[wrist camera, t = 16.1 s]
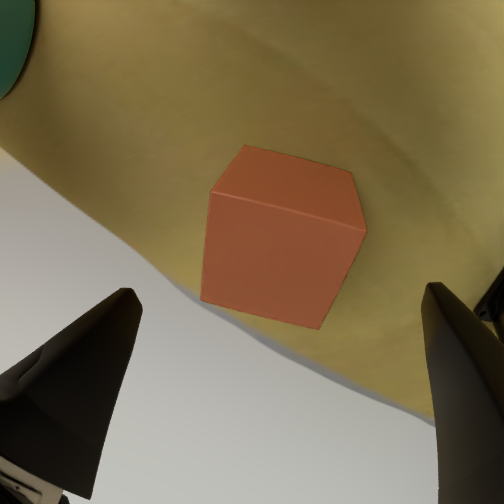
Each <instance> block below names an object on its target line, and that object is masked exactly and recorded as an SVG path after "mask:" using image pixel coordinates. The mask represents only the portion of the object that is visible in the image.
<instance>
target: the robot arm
mask: <svg viewBox="0 0 504 504" xmlns="http://www.w3.org/2000/svg"><path fill="white" fill-rule="evenodd" d="M142 312H143V309H142V304H141V303H140V301H139V299H138V297H137V295H136V293H135V292H134V290H133V289H132V288H120V289H119V290H117V291H116V292H114V293H113V294H111V295H110V296H109V297H107V298H106V299H104V300H103V301H101V302H100V303H99V304H97V305H96V306H95V307H93V308H92V309H90V310H89V311H88V312H86V313H85V314H83V315H82V316H81V317H79V318H78V319H77V320H75V321H74V322H73V323H71V324H70V325H69V326H67V327H66V328H64V329H63V330H62V331H60V332H59V333H58V334H56V335H55V336H54V337H52V338H51V339H50V340H48V341H47V342H46V343H45V344H43V345H42V346H40V347H39V348H38V349H36V350H35V351H34V352H32V353H31V354H30V355H28V356H27V357H25V358H24V359H23V360H21V361H20V362H18V363H17V364H16V365H14V366H12V367H11V368H10V369H8V370H7V371H5V372H4V373H2V374H1V375H0V504H70V503H69V500H68V498H67V496H65V495H64V494H62V493H63V490H66V491H68V492H71V493H73V494H76V495H78V496H80V497H83V498H85V499H88V500H90V499H91V496H92V492H93V487H94V483H95V478H96V474H97V470H98V465H99V462H100V457H101V454H102V453H101V452H102V449H103V446H104V442H105V438H106V435H107V431H108V427H109V424H110V420H111V417H112V414H113V410H114V407H115V404H116V400H117V397H118V394H119V391H120V387H121V384H122V381H123V378H124V375H125V372H126V369H127V366H128V363H129V360H130V357H131V354H132V351H133V347H134V344H135V340H136V335H137V331H138V328H139V323H140V320H141V316H142ZM474 313H475V314H474ZM474 313H473V312H472V311H471V310H470V309H469V308H468V307H467V306H466V305H465V304H464V303H463V302H462V301H461V300H460V299H459V298H458V297H457V296H456V295H454V294H453V293H452V292H451V291H450V290H449V289H448V288H447V287H446V286H445V285H444V284H443V283H441V282H429V283H428V284H427V285H426V288H425V292H424V296H423V300H422V304H421V314H422V323H423V332H424V342H425V353H426V362H427V368H428V374H429V380H430V386H431V393H432V400H433V408H434V416H435V426H436V437H437V452H438V476H439V477H438V478H439V479H438V480H439V489H438V504H504V270H503V271H502V273H501V274H500V275H499V277H498V278H497V280H496V281H495V283H494V284H493V285H492V287H491V288H490V290H489V291H488V292H487V294H486V295H485V296H484V298H483V299H482V300H481V302H480V303H479V304H478V305H477V307H476V308H475V310H474ZM481 320H484V321H488V322H492V323H493V326H494V328H495V331H496V333H497V336H498V338H497V337H496V336H495V335H494V334H493V333H492V332H491V331H490V329H489V328H488V327H487V326H486V325H485V324H484V323H483V322H482V321H481Z"/></svg>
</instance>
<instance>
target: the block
mask: <svg viewBox="0 0 504 504" xmlns="http://www.w3.org/2000/svg"><path fill="white" fill-rule="evenodd" d="M366 234H367V227H366V223H365V219H364V216H363V212H362V208H361V204H360V201H359V197H358V194H357V190H356V187H355V183H354V180H353V177H352V174H351V172H348V171H345V170H341V169H338V168H335V167H331V166H328V165H324V164H320V163H317V162H313V161H309V160H306V159H302V158H298V157H294V156H290V155H286V154H282V153H278V152H274V151H269V150H265V149H261V148H256V147H251V146H247V145H244V146H243V147H242V148H241V150H240V151H239V152H238V154H237V155H236V156H235V158H234V159H233V160H232V162H231V163H230V165H229V166H228V167H227V169H226V170H225V171H224V173H223V174H222V176H221V177H220V178H219V180H218V181H217V183H216V184H215V185H214V187H213V188H212V190H211V191H210V198H209V207H208V216H207V226H206V236H205V247H204V258H203V270H202V282H201V295H200V300H201V301H203V302H207V303H211V304H214V305H218V306H222V307H225V308H229V309H233V310H237V311H241V312H244V313H248V314H252V315H256V316H260V317H264V318H268V319H273V320H277V321H281V322H285V323H289V324H294V325H298V326H303V327H307V328H312V329H316V330H318V329H319V328H320V327H321V325H322V323H323V321H324V319H325V317H326V315H327V314H328V312H329V310H330V308H331V306H332V304H333V302H334V300H335V298H336V296H337V294H338V292H339V290H340V288H341V286H342V284H343V282H344V280H345V278H346V276H347V274H348V272H349V270H350V268H351V266H352V264H353V262H354V260H355V258H356V256H357V253H358V251H359V249H360V247H361V245H362V243H363V240H364V238H365V236H366Z"/></svg>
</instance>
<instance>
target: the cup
mask: <svg viewBox="0 0 504 504" xmlns="http://www.w3.org/2000/svg"><path fill="white" fill-rule="evenodd" d="M34 21H35V0H0V99H2V98H3V97H4V96H5V95H6V94H7V93H8V91H9V90H10V89H11V87H12V86H13V84H14V83H15V81H16V80H17V78H18V76H19V74H20V72H21V70H22V67H23V65H24V62H25V60H26V57H27V54H28V51H29V47H30V43H31V39H32V35H33V29H34Z"/></svg>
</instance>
